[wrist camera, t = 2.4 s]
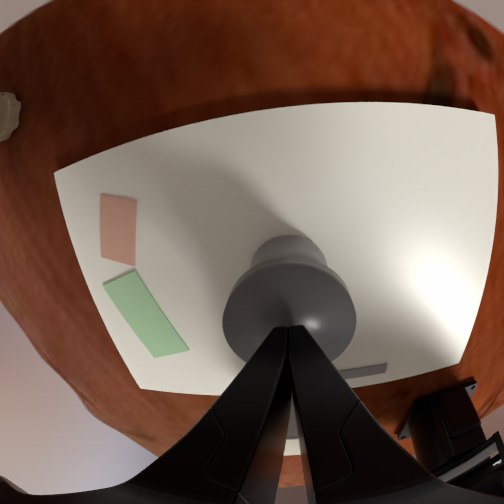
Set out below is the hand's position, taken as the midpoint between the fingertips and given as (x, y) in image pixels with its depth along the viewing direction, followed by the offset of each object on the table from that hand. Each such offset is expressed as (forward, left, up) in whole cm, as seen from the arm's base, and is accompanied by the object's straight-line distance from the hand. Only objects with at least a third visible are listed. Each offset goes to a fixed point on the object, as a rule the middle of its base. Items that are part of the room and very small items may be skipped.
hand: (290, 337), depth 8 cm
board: (-1, 0, -5) cm, 5 cm away
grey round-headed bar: (-4, 0, -4) cm, 5 cm away
